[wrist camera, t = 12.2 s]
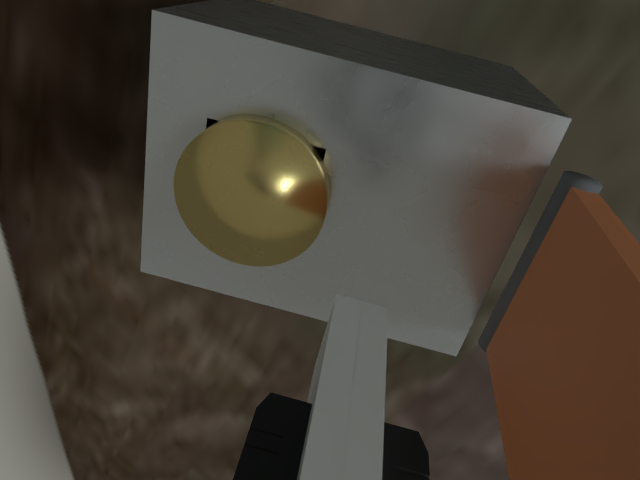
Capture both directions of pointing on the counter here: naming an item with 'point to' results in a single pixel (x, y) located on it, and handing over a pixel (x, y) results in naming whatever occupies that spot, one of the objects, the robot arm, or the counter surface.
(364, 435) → the robot arm
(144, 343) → the counter surface
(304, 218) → the brass pin
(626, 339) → the orange tab
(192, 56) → the block
